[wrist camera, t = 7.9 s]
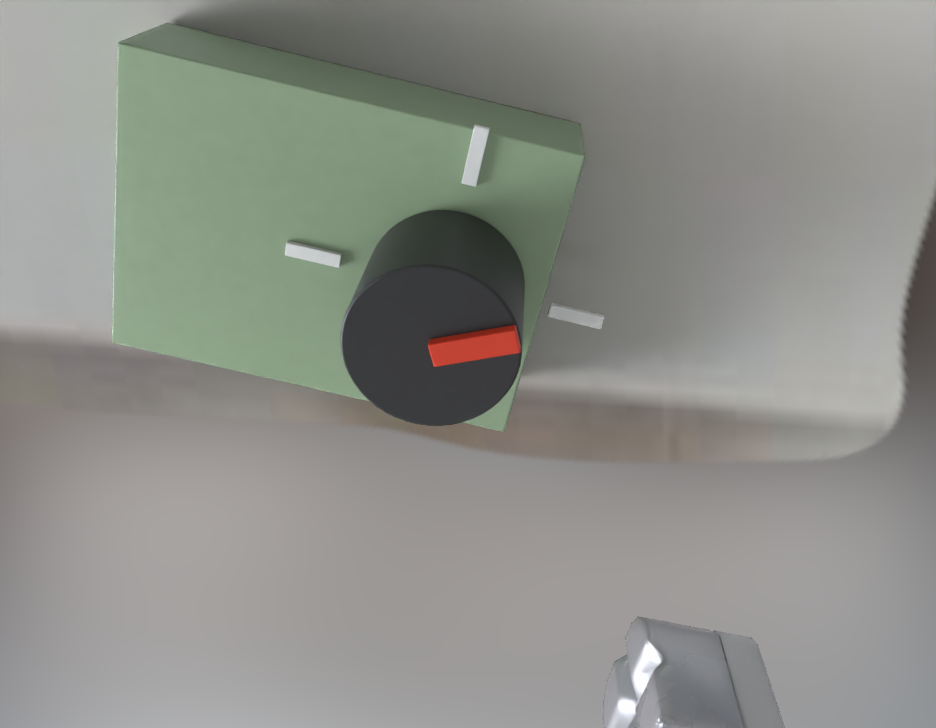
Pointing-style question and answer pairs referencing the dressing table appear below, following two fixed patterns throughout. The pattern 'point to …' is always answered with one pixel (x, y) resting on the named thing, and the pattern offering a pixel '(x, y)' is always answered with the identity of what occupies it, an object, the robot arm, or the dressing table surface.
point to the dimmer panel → (305, 198)
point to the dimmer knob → (437, 320)
